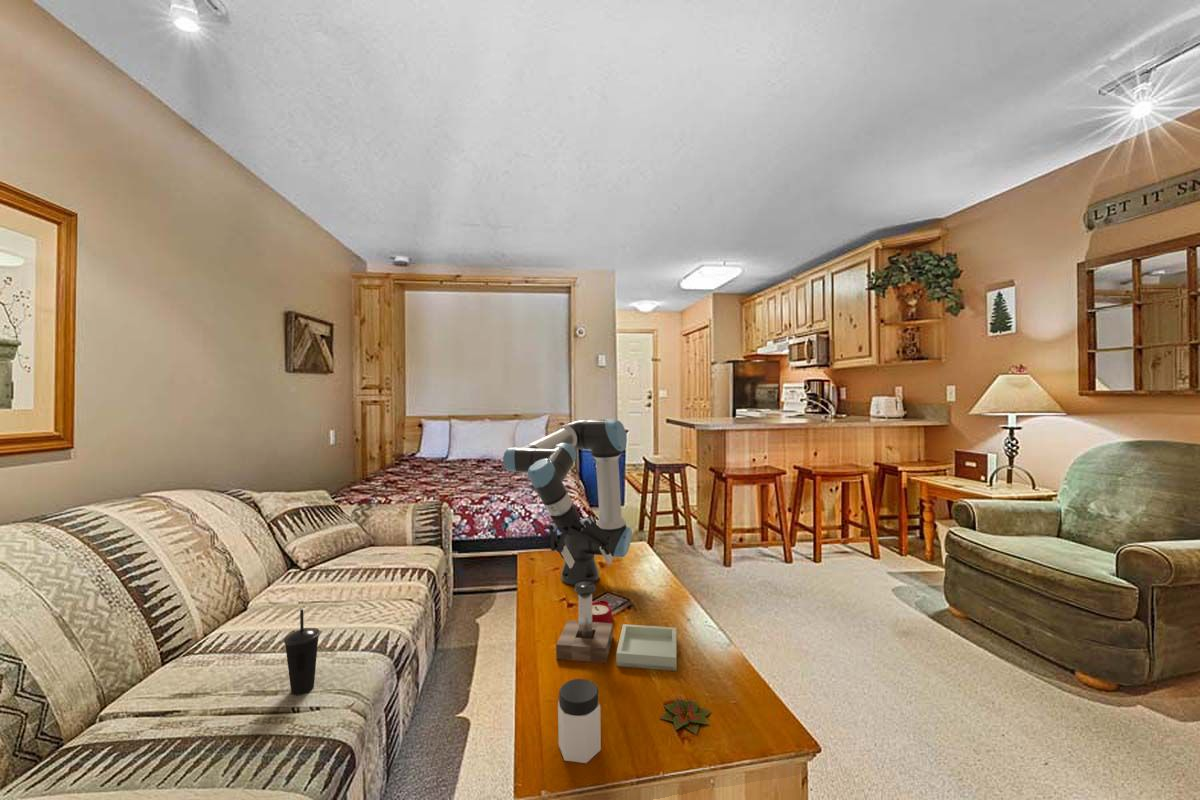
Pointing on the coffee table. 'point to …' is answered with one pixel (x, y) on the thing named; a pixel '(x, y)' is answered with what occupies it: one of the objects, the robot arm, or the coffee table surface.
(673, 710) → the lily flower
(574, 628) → the brown square frame
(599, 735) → the jar
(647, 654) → the sage tray
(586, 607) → the steel pin
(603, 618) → the alarm clock
